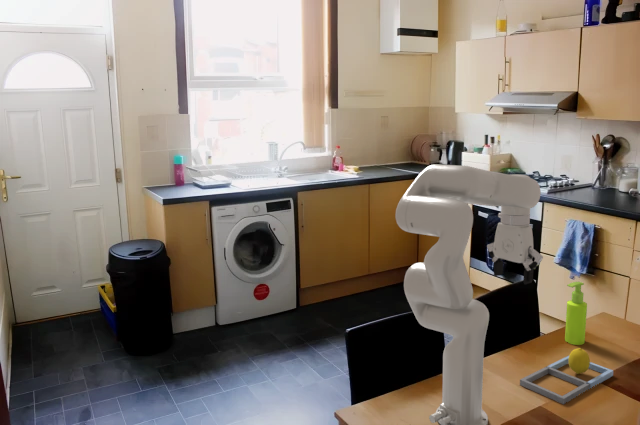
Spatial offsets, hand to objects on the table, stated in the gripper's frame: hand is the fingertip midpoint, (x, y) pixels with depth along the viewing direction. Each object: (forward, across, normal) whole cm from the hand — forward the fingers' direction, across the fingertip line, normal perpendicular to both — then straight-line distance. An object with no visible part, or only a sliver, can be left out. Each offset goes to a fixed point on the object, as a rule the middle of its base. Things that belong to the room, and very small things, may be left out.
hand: (512, 279), depth 157 cm
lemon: (+28, +13, +14) cm, 34 cm away
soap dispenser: (+28, 0, +34) cm, 44 cm away
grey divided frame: (+28, +13, +8) cm, 32 cm away
